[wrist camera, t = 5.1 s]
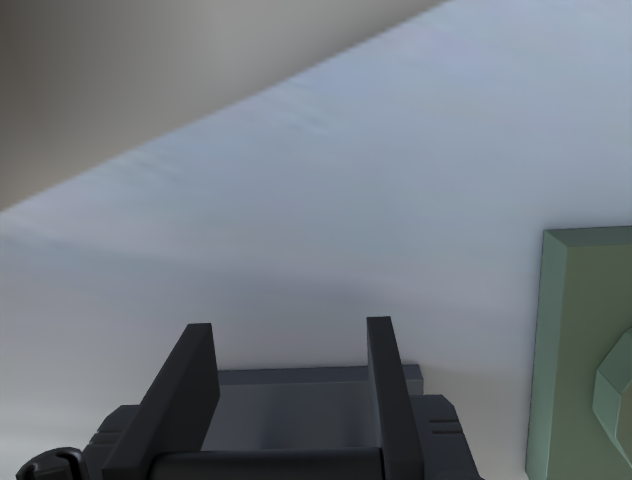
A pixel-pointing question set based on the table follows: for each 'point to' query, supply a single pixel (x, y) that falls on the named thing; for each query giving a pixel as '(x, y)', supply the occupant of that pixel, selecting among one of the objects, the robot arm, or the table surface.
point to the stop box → (583, 358)
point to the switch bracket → (296, 408)
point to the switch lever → (271, 464)
